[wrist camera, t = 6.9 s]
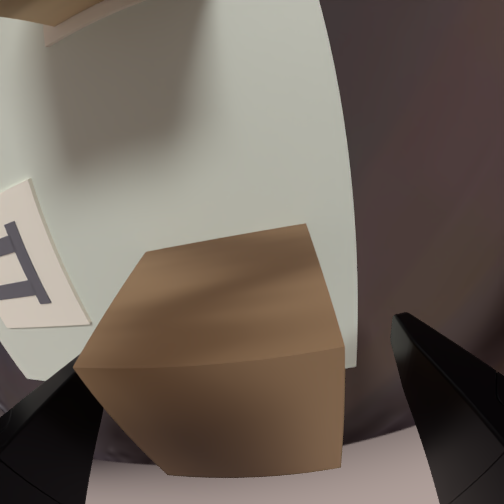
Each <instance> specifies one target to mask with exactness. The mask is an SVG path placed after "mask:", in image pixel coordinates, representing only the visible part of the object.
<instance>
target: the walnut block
mask: <svg viewBox="0 0 504 504" xmlns="http://www.w3.org/2000/svg"><path fill="white" fill-rule="evenodd" d="M73 369H74V370H75V371H76V373H77V374H78V376H79V377H80V378H81V380H82V381H83V382H84V384H85V385H86V386H87V388H88V389H89V390H90V391H91V393H92V394H93V395H94V397H95V398H96V399H97V400H98V402H99V403H100V404H101V405H102V406H103V408H104V409H105V410H106V411H107V412H108V414H109V415H110V416H111V417H112V418H113V419H114V421H115V422H116V423H117V424H118V425H119V426H120V427H121V429H122V430H123V431H124V432H125V433H126V434H127V435H128V436H129V437H130V438H131V439H132V440H133V441H134V443H135V444H136V445H137V446H138V447H139V448H140V449H141V450H142V451H143V452H144V453H145V454H146V455H147V456H148V457H149V458H150V459H151V460H152V461H153V462H154V463H155V464H157V465H158V466H159V467H160V468H161V469H162V470H163V471H164V472H165V473H166V474H167V475H173V476H187V477H209V478H239V477H240V478H242V477H243V478H244V477H266V476H280V475H291V474H300V473H308V472H315V471H322V470H328V469H334V468H340V467H341V456H342V443H343V425H344V399H345V345H344V341H343V338H342V334H341V331H340V328H339V324H338V321H337V317H336V314H335V311H334V307H333V304H332V301H331V298H330V294H329V291H328V288H327V285H326V282H325V279H324V276H323V272H322V269H321V266H320V263H319V260H318V257H317V254H316V251H315V248H314V245H313V242H312V239H311V236H310V233H309V231H308V228H307V225H306V223H304V224H298V225H292V226H286V227H280V228H275V229H269V230H263V231H257V232H251V233H246V234H240V235H234V236H229V237H223V238H217V239H212V240H206V241H201V242H195V243H190V244H184V245H179V246H174V247H168V248H163V249H158V250H152V251H147V252H145V253H144V255H143V256H142V258H141V259H140V261H139V262H138V264H137V265H136V267H135V268H134V269H133V271H132V272H131V274H130V275H129V277H128V278H127V280H126V281H125V283H124V284H123V286H122V287H121V289H120V290H119V292H118V294H117V295H116V297H115V298H114V300H113V301H112V303H111V304H110V306H109V308H108V309H107V311H106V312H105V314H104V315H103V317H102V319H101V320H100V322H99V324H98V325H97V327H96V328H95V330H94V332H93V333H92V335H91V337H90V338H89V340H88V342H87V343H86V345H85V347H84V349H83V350H82V352H81V354H80V355H79V357H78V359H77V361H76V362H75V364H74V366H73Z"/></svg>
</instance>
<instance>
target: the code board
mask: <svg viewBox="0 0 504 504" xmlns="http://www.w3.org/2000/svg"><path fill="white" fill-rule="evenodd" d="M304 223H306V225H307V228H308V231H309V233H310V236H311V239H312V242H313V245H314V248H315V251H316V254H317V257H318V260H319V263H320V266H321V269H322V272H323V276H324V279H325V282H326V285H327V288H328V291H329V294H330V298H331V301H332V304H333V307H334V311H335V314H336V317H337V321H338V324H339V328H340V331H341V334H342V338H343V341H344V345H345V369H346V368H351V367H356V359H357V323H358V291H357V254H356V234H355V218H354V205H353V193H352V182H351V173H350V163H349V155H348V147H347V139H346V132H345V125H344V118H343V112H342V106H341V100H340V94H339V88H338V83H337V77H336V72H335V67H334V62H333V57H332V53H331V48H330V43H329V39H328V35H327V31H326V26H325V22H324V18H323V14H322V11H321V7H320V3H319V0H104V1H102V2H99V3H97V4H95V5H93V6H91V7H89V8H87V9H85V10H83V11H82V12H80V13H78V14H76V15H74V16H72V17H71V18H69V19H67V20H65V21H63V22H62V23H60V24H58V25H57V26H55V27H53V26H49V25H44V24H40V23H35V22H29V21H24V20H18V19H12V18H5V17H0V341H1V343H2V344H3V346H4V347H5V349H6V350H7V352H8V353H9V355H10V356H11V358H12V359H13V360H14V362H15V363H16V365H17V366H18V367H19V369H20V370H21V371H22V373H23V374H24V375H25V377H26V378H27V379H35V380H42V381H46V380H48V379H49V378H50V377H51V376H53V375H54V374H55V373H56V372H58V371H59V370H60V369H61V368H63V367H64V366H65V365H67V364H68V363H69V362H70V361H72V360H73V359H74V358H76V357H77V356H78V355H79V354H81V352H82V350H83V349H84V347H85V345H86V343H87V342H88V340H89V338H90V337H91V335H92V333H93V332H94V330H95V328H96V327H97V325H98V324H99V322H100V320H101V319H102V317H103V315H104V314H105V312H106V311H107V309H108V308H109V306H110V304H111V303H112V301H113V300H114V298H115V297H116V295H117V294H118V292H119V290H120V289H121V287H122V286H123V284H124V283H125V281H126V280H127V278H128V277H129V275H130V274H131V272H132V271H133V269H134V268H135V267H136V265H137V264H138V262H139V261H140V259H141V258H142V256H143V255H144V253H145V252H147V251H152V250H158V249H163V248H168V247H174V246H179V245H184V244H190V243H195V242H201V241H206V240H212V239H217V238H223V237H229V236H234V235H240V234H246V233H251V232H257V231H263V230H269V229H275V228H280V227H286V226H292V225H298V224H304Z"/></svg>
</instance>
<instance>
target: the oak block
mask: <svg viewBox="0 0 504 504" xmlns="http://www.w3.org/2000/svg"><path fill="white" fill-rule="evenodd" d="M102 1H104V0H0V17H5V18H12V19H18V20H24V21H29V22H35V23H40V24H44V25H49V26H53V27H55V26H57V25H58V24H60V23H62V22H63V21H65V20H67V19H69V18H71V17H72V16H74V15H76V14H78V13H80V12H82V11H83V10H85V9H87V8H89V7H91V6H93V5H95V4H97V3H99V2H102Z"/></svg>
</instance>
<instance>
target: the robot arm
mask: <svg viewBox="0 0 504 504" xmlns="http://www.w3.org/2000/svg"><path fill="white" fill-rule="evenodd" d="M391 345H392V349H393V352H394V356H395V360H396V363H397V367H398V371H399V375H400V379H401V383H402V387H403V390H404V393H405V396H406V399H407V401H408V404H409V407H410V410H411V412H412V415H413V418H414V421H415V424H416V427H417V429H418V433H419V435H420V439H421V441H422V444H423V447H424V450H425V454H426V457H427V460H428V464H429V467H430V470H431V474H432V477H433V480H434V484H435V488H436V491H437V495H438V499H439V503H440V504H504V376H503V375H502V374H500V373H499V372H497V373H496V370H494V369H493V368H491V367H490V366H489V365H487V364H486V363H484V362H483V361H481V360H480V359H478V358H477V357H475V356H474V355H472V354H471V353H469V352H468V351H466V350H465V349H463V348H462V347H460V346H459V345H457V344H456V343H454V342H453V341H451V340H450V339H448V338H447V337H445V336H444V335H442V334H441V333H439V332H437V331H436V330H434V329H433V328H431V327H430V326H428V325H427V324H425V323H424V322H422V321H421V320H419V319H417V318H416V317H414V316H413V315H411V314H410V313H407V312H404V313H400V314H396V315H394V316H393V319H392V328H391ZM79 355H80V354H79ZM79 355H78V356H77V357H76V358H74V359H73V360H72V361H70V362H69V363H68V364H67V365H65V366H64V367H63V368H61V369H60V370H59V371H58V372H56V373H55V374H54V375H53V376H51V377H50V378H49V379H48V380H46V381H45V382H44V383H42V384H41V385H40V386H39V387H37V388H36V389H35V390H34V391H32V392H31V393H30V394H29V395H27V396H26V397H25V398H24V399H22V400H21V401H20V402H19V403H18V404H16V405H15V406H14V407H13V408H11V409H10V410H9V411H8V412H6V413H5V414H4V415H3V416H1V417H0V504H85V501H86V495H87V488H88V482H89V477H90V471H91V465H92V460H93V455H94V450H95V446H96V441H97V436H98V432H99V427H100V423H101V419H102V414H103V406H102V405H101V404H100V403H99V402H98V400H97V399H96V398H95V397H94V395H93V394H92V393H91V391H90V390H89V389H88V388H87V386H86V385H85V384H84V382H83V381H82V380H81V378H80V377H79V376H78V374H77V373H76V371H75V370H74V369H73V366H74V364H75V362H76V361H77V359H78V357H79Z"/></svg>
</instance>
